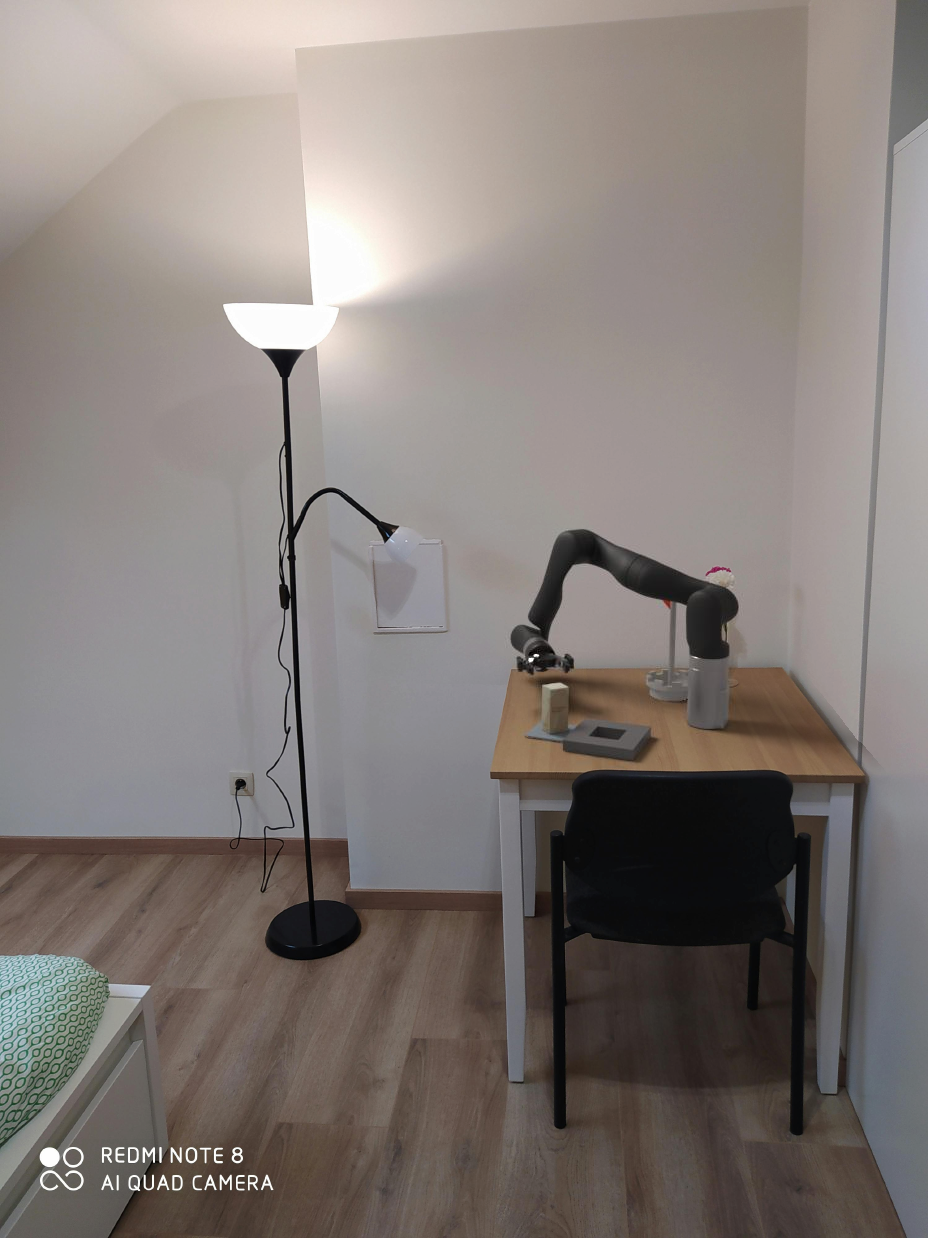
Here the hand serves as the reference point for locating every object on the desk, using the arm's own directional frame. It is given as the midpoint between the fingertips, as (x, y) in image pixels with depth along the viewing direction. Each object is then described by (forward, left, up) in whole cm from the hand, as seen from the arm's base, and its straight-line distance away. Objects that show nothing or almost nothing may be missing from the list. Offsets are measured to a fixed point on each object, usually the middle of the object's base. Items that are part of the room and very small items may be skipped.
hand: (549, 670), depth 224 cm
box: (-5, +10, -12) cm, 16 cm away
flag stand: (-24, -29, -12) cm, 39 cm away
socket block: (-19, +12, -12) cm, 25 cm away
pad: (-5, +10, -12) cm, 16 cm away
